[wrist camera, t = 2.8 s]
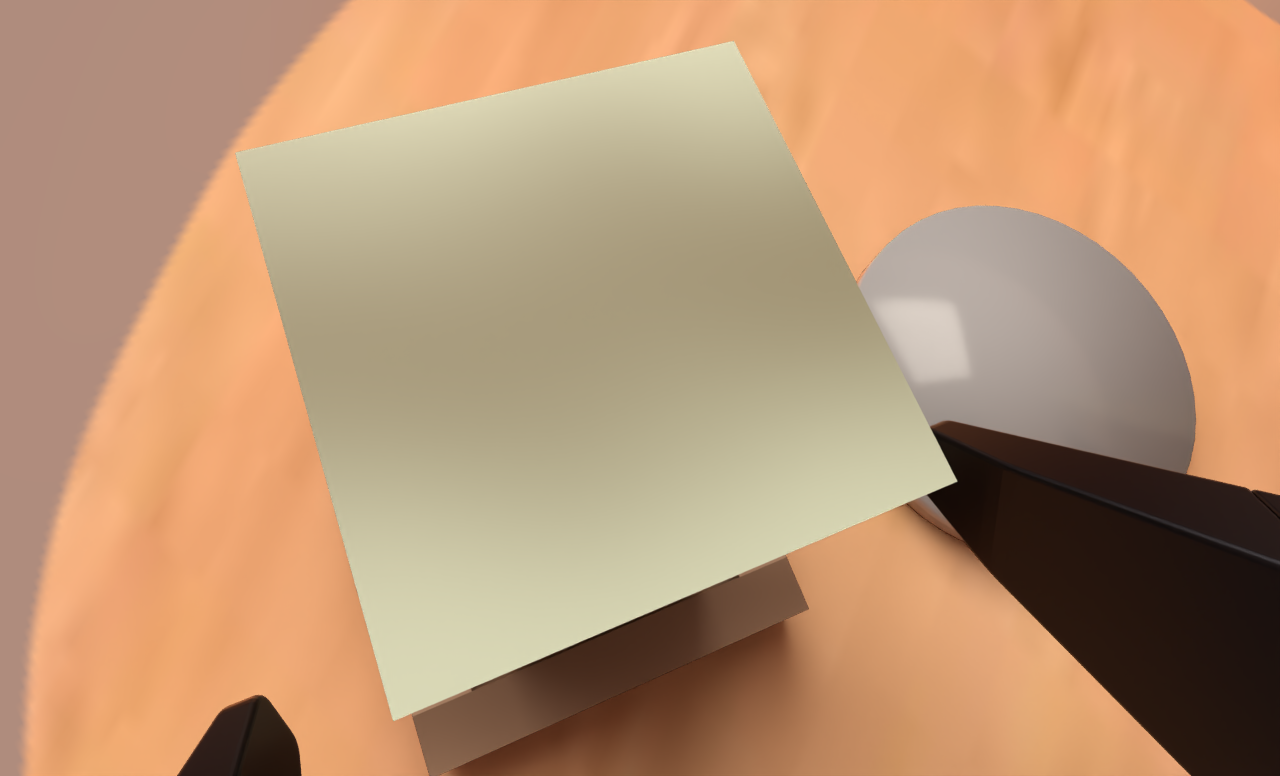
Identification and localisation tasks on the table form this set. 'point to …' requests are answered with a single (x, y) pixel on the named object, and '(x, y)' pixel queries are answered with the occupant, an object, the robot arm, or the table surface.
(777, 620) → the pocket block
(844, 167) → the table surface
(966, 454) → the robot arm
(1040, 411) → the coaster
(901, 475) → the tall khaki square post
